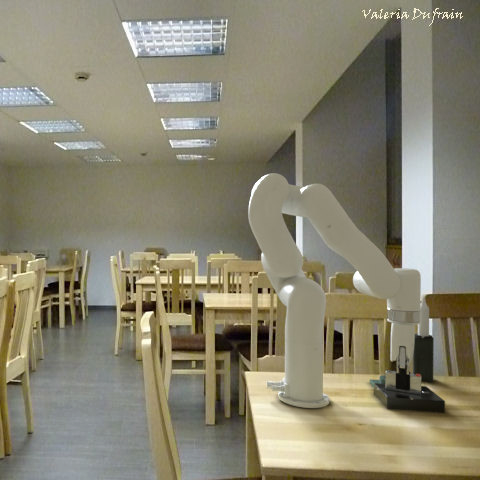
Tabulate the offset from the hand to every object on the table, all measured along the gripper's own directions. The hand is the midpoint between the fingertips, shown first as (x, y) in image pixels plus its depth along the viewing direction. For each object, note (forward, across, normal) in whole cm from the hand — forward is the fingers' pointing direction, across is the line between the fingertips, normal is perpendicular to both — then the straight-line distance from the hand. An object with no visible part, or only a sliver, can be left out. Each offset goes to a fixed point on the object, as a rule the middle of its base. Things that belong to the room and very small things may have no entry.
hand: (402, 387), depth 113 cm
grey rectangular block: (+1, 0, 0) cm, 1 cm away
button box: (+4, -11, -3) cm, 12 cm away
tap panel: (+4, 0, +1) cm, 4 cm away
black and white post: (+4, -25, +5) cm, 26 cm away
